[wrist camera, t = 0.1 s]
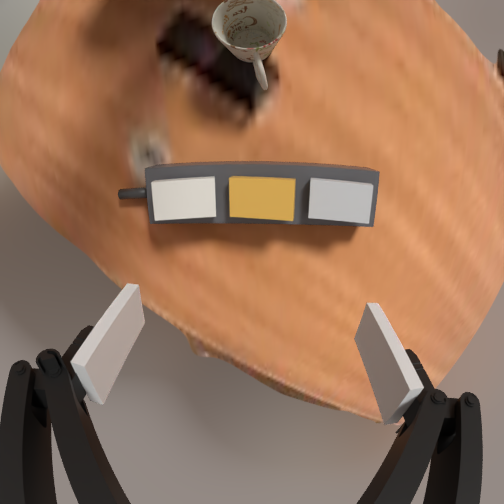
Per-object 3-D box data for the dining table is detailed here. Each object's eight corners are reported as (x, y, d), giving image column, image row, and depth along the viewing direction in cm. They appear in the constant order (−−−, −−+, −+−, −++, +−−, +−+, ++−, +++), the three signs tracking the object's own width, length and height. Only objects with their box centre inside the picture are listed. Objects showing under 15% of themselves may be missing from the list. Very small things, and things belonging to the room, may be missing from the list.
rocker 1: (153, 180, 33) (151, 182, 32) (214, 176, 35) (214, 178, 33) (156, 217, 35) (154, 220, 34) (215, 213, 37) (216, 216, 35)
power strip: (122, 168, 39) (105, 173, 34) (367, 167, 38) (382, 172, 33) (127, 215, 42) (112, 226, 37) (362, 217, 41) (375, 228, 36)
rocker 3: (310, 177, 34) (310, 179, 33) (370, 183, 33) (373, 185, 31) (308, 214, 36) (308, 217, 35) (366, 220, 35) (368, 223, 33)
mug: (271, 17, 29) (274, -13, 20) (296, 88, 34) (307, 73, 24) (216, 30, 30) (203, 3, 21) (239, 102, 35) (232, 90, 26)
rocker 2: (232, 176, 34) (229, 177, 33) (295, 178, 33) (294, 180, 31) (233, 213, 36) (229, 216, 35) (294, 217, 35) (293, 221, 33)
